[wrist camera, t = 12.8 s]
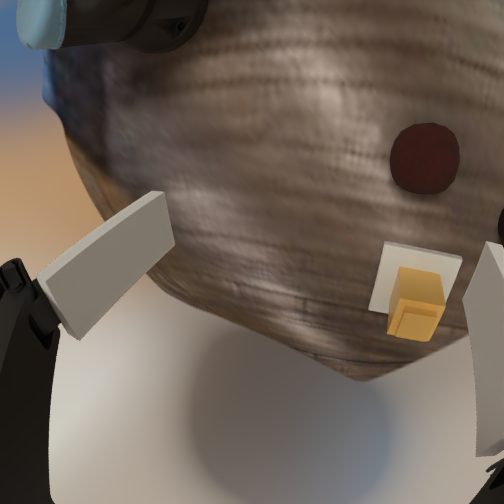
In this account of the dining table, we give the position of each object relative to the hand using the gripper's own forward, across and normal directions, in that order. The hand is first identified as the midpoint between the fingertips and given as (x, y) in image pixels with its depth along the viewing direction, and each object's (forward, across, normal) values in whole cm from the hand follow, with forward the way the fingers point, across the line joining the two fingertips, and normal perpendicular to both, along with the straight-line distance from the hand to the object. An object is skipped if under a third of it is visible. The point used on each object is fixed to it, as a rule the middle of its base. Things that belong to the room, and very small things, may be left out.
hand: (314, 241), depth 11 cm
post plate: (+26, +11, -21) cm, 35 cm away
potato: (+27, +8, -2) cm, 28 cm away
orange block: (+26, +11, -21) cm, 35 cm away
